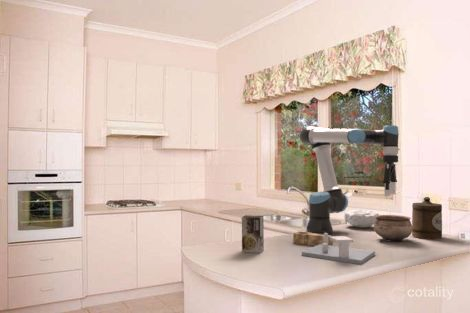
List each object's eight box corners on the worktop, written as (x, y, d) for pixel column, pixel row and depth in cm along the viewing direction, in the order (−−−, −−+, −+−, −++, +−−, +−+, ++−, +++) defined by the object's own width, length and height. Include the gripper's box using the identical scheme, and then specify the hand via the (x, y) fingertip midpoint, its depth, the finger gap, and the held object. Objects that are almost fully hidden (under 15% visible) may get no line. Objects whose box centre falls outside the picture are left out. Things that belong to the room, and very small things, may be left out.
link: (293, 243, 196) (293, 233, 197) (299, 240, 202) (299, 231, 202) (328, 247, 186) (328, 237, 186) (333, 245, 192) (333, 235, 192)
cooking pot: (399, 246, 188) (399, 221, 188) (363, 240, 202) (363, 217, 203) (421, 239, 205) (421, 216, 205) (387, 234, 219) (386, 213, 219)
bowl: (362, 224, 258) (362, 208, 258) (386, 228, 239) (386, 212, 239) (337, 226, 249) (337, 210, 249) (359, 231, 230) (359, 214, 231)
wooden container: (442, 240, 203) (441, 198, 204) (411, 238, 210) (410, 197, 211) (442, 235, 216) (441, 196, 217) (413, 233, 223) (412, 195, 224)
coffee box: (264, 250, 181) (264, 215, 181) (260, 253, 175) (260, 217, 175) (245, 248, 184) (245, 214, 184) (241, 251, 178) (241, 216, 178)
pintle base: (300, 255, 170) (300, 235, 170) (319, 247, 187) (319, 228, 187) (360, 264, 155) (359, 242, 155) (374, 254, 172) (374, 234, 173)
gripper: (393, 154, 192) (393, 197, 192) (402, 155, 213) (401, 193, 213) (377, 154, 196) (377, 196, 196) (387, 155, 217) (387, 193, 217)
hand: (390, 195), depth 204 cm, fingers open, 13 cm apart
